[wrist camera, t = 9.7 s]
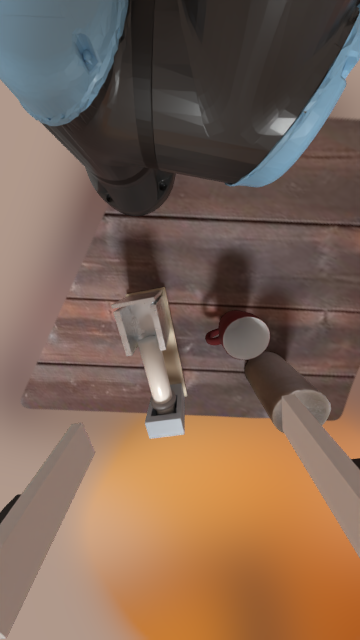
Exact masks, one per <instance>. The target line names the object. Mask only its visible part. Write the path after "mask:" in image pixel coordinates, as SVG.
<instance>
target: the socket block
mask: <svg viewBox="0 0 360 640" xmlns="http://www.w3.org/2000/svg"><path fill="white" fill-rule="evenodd" d="M170 387H171V390H173V391H174V392H175V396H176V401H175V403H174V404H175V408H176V413H173V414H165V415H157V411H156V410H155V409H154V408H153V407H152V405H151V400H150V404H149V408H148V412H147V416H146V420H145V425H146V428H147V431H148V435H149V438H150V439H151V438H159V437H167V436H175V435H183V434H184V392H183V388H182V383H179V384H172V385H170ZM151 397H152V396H151Z"/></svg>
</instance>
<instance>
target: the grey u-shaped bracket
mask: <svg viewBox="0 0 360 640" xmlns="http://www.w3.org/2000/svg"><path fill="white" fill-rule="evenodd" d="M161 293H162V289H161V290H156V291H151V292H145V293H140V294H134V295H129V296H127V297H125V298H123V299H122V300H120V301H118V302H116V303H114V304H112V305H111V306H112V309H113V308H118V307H121V308H119V309H118V310H116V311H114V312H113V313H114V316H115V319H116V323H117V326H118V329H119V333H120V336H121V339H122V343H123V346H124V349H125V352H126V356H131V355H133V353H134V351H135V350H136V348H137V346H138V341H139V340H141V339H143V338H145V337H149V336H157V339H158V343H159V347H160V351H162V350H166V348H167V343H168V339H169V334H170V327H169V322H168V317H167V313H166V308H165V303H164V299H163V295H161V296H159V295H160V294H161Z"/></svg>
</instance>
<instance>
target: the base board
mask: <svg viewBox="0 0 360 640" xmlns="http://www.w3.org/2000/svg"><path fill="white" fill-rule="evenodd" d="M161 289H162V293H161V294H160V295H159V296H161V295H163V299H164V303H165V308H166V313H167V317H168V322H169V327H170V334H169V339H168V343H167V348H166V350H162V353H163V358H164V362H165V366H166V370H167V375H168V379H169V383H170V385H172V384H179V383H182V388H183V392H184V397H185V396H187V391H186V386H185V381H184V377H183V372H182V367H181V362H180V357H179V352H178V348H177V343H176V338H175V333H174V328H173V323H172V319H171V314H170V309H169V304H168V299H167V294H166V290H165V287H162V288H157V289H152V290H146V291H141V292H135V293H130V294H126V297H127V296H129V295H134V294H140V293H145V292H151V291H156V290H161Z"/></svg>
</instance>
